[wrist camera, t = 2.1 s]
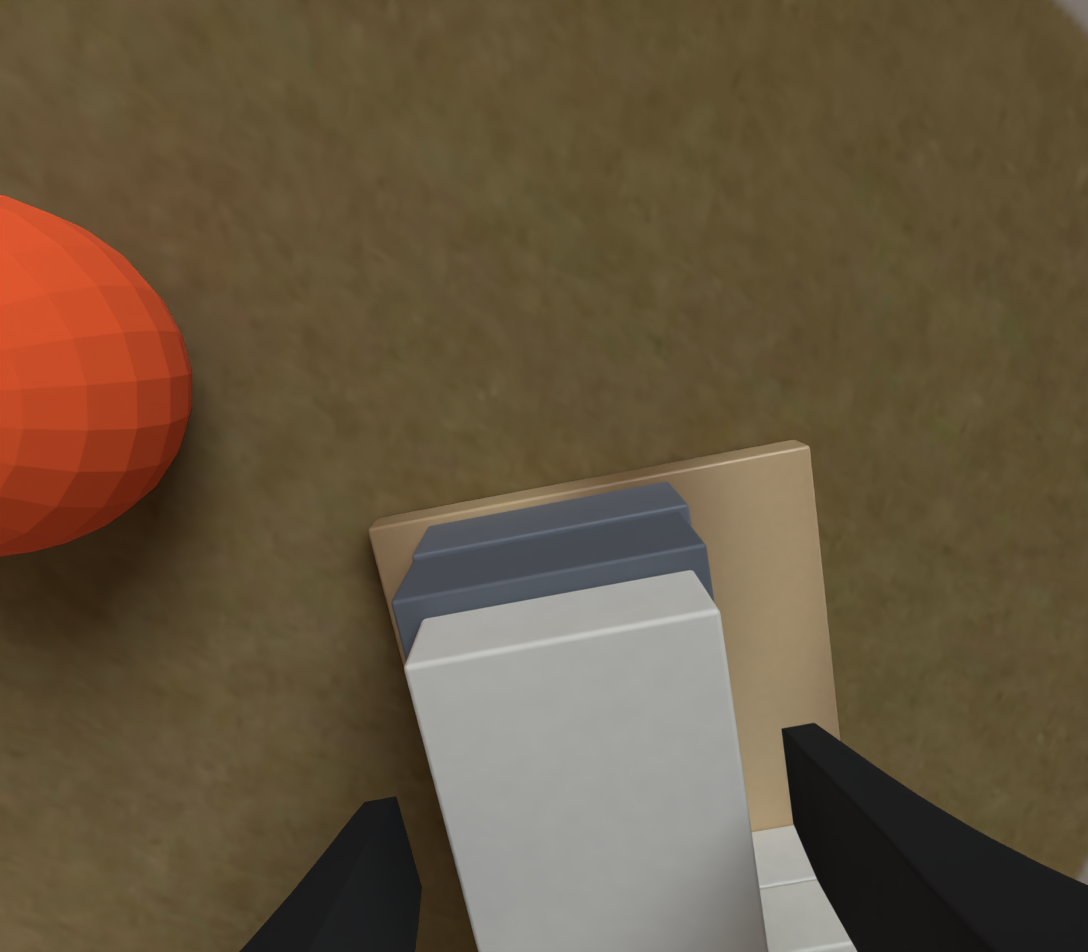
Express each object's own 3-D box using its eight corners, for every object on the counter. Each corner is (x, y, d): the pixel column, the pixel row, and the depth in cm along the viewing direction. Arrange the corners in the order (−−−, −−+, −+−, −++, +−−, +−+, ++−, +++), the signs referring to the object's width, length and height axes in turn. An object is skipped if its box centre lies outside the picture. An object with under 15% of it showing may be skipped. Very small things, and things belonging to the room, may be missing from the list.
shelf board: (795, 438, 17) (810, 445, 16) (856, 1004, 21) (872, 1038, 20) (375, 517, 17) (366, 529, 16) (516, 1059, 21) (515, 1095, 20)
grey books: (668, 480, 16) (717, 535, 12) (717, 795, 18) (774, 943, 14) (427, 525, 16) (387, 596, 12) (501, 832, 18) (490, 990, 14)
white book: (692, 567, 12) (721, 609, 10) (747, 927, 13) (779, 1017, 12) (421, 617, 12) (401, 667, 10) (508, 967, 14) (505, 1061, 12)
